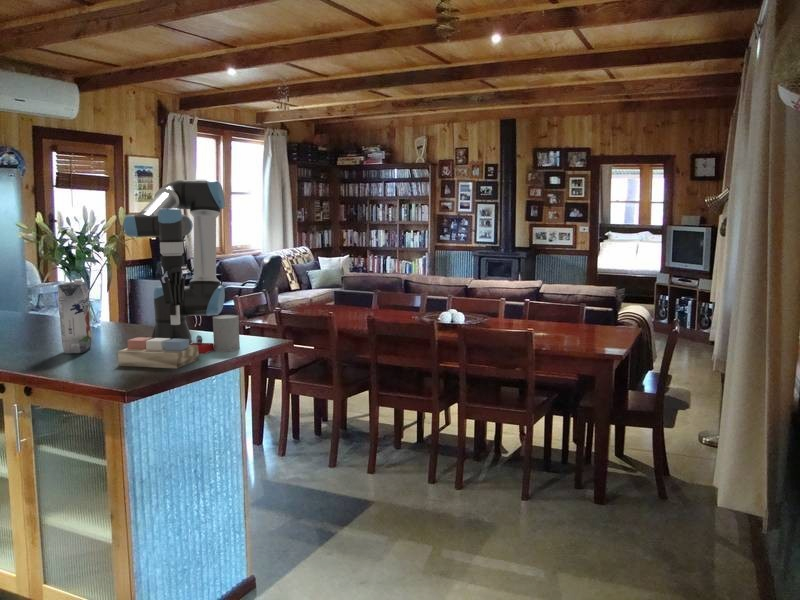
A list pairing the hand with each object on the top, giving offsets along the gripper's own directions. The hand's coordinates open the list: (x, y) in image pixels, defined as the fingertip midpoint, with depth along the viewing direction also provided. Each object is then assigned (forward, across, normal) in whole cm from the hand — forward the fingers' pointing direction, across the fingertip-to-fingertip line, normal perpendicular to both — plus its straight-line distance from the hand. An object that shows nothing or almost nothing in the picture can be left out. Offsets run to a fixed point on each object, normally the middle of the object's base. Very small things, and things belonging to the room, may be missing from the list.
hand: (175, 324), depth 239 cm
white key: (+9, 0, -7) cm, 11 cm away
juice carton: (+13, -12, -49) cm, 53 cm away
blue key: (+9, 0, 0) cm, 9 cm away
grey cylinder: (+14, -26, +5) cm, 30 cm away
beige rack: (+14, 0, -7) cm, 15 cm away
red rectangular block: (+14, -21, -3) cm, 25 cm away
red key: (+9, 0, -14) cm, 17 cm away
